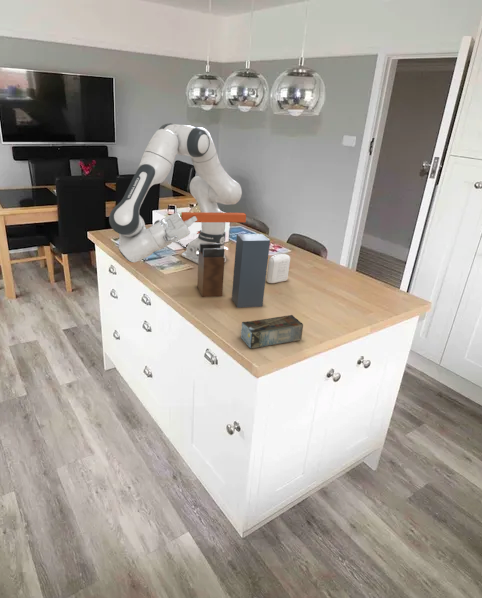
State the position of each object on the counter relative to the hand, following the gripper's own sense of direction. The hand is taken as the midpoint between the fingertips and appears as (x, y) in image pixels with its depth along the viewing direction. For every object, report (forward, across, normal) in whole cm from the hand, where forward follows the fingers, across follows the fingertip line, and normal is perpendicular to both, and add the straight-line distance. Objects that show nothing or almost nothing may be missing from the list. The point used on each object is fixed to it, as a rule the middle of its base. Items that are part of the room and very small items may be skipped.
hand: (195, 216), depth 153 cm
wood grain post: (-9, +1, +30) cm, 32 cm away
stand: (+1, -11, +36) cm, 38 cm away
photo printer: (+19, +8, +46) cm, 51 cm away
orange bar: (+5, 0, +5) cm, 7 cm away
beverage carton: (+1, -40, +36) cm, 54 cm away
